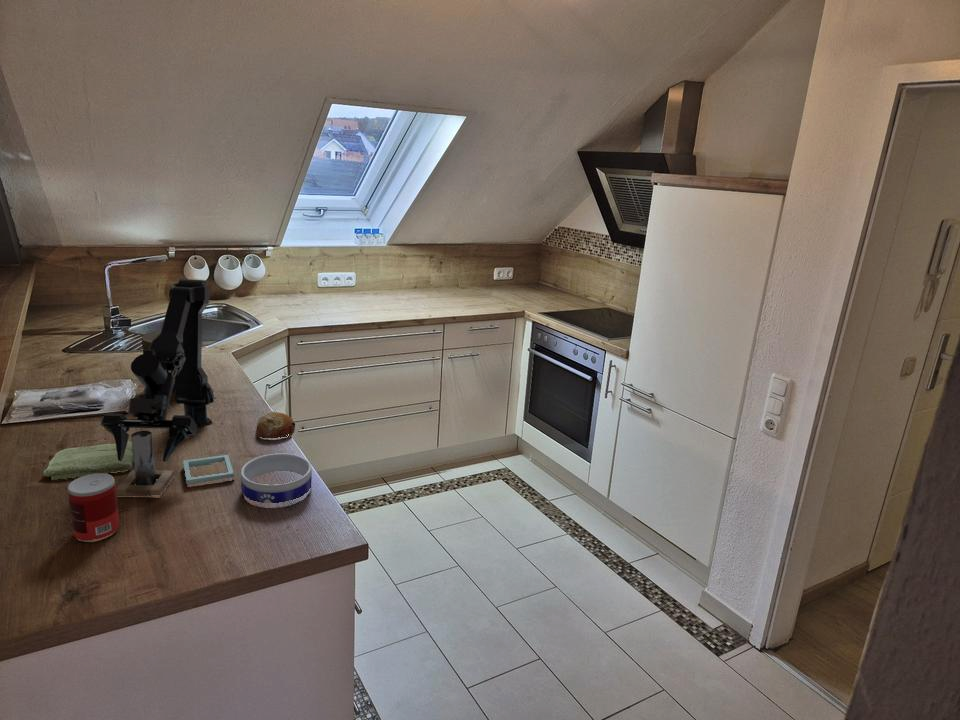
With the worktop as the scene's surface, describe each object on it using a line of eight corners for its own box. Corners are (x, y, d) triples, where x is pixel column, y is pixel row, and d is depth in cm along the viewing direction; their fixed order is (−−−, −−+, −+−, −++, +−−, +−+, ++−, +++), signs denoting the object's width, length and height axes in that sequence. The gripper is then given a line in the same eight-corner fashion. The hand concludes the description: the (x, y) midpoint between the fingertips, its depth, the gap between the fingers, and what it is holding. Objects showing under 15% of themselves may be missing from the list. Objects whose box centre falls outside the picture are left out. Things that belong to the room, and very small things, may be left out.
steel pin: (133, 486, 143) (128, 433, 139) (152, 481, 146) (148, 429, 142) (140, 494, 141) (134, 440, 137) (159, 488, 143) (154, 435, 139)
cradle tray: (183, 468, 153) (183, 460, 152) (228, 461, 157) (228, 454, 157) (186, 488, 144) (186, 480, 144) (234, 481, 149) (233, 473, 148)
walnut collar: (133, 477, 147) (132, 469, 146) (174, 478, 148) (174, 470, 147) (116, 497, 138) (115, 489, 138) (160, 498, 140) (159, 490, 139)
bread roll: (262, 438, 179) (248, 415, 175) (296, 421, 181) (283, 398, 177) (264, 454, 170) (249, 430, 167) (300, 436, 172) (286, 412, 169)
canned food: (127, 522, 130) (122, 473, 127) (106, 545, 123) (100, 494, 119) (88, 520, 130) (82, 471, 127) (65, 543, 122) (58, 492, 119)
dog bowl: (239, 512, 137) (238, 487, 135) (243, 477, 151) (242, 454, 149) (313, 506, 142) (313, 482, 140) (310, 473, 155) (310, 451, 154)
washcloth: (55, 457, 154) (53, 445, 153) (138, 450, 160) (137, 438, 159) (42, 484, 142) (40, 471, 141) (132, 475, 149) (131, 462, 148)
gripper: (99, 379, 139) (81, 447, 132) (190, 382, 141) (176, 450, 134) (118, 399, 149) (102, 464, 142) (202, 402, 151) (190, 466, 144)
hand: (142, 461), depth 140 cm, fingers open, 9 cm apart
